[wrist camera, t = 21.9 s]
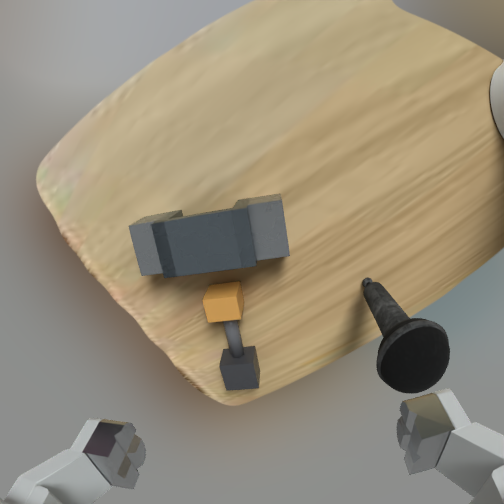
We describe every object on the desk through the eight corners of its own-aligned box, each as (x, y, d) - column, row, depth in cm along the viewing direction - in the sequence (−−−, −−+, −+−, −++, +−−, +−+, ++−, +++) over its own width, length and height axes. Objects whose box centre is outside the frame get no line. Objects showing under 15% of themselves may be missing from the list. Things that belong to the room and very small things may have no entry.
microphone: (398, 286, 39) (470, 378, 20) (356, 313, 41) (402, 421, 22) (376, 245, 38) (453, 325, 19) (331, 274, 39) (373, 377, 20)
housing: (280, 193, 37) (282, 202, 30) (287, 242, 39) (290, 261, 32) (144, 216, 39) (122, 229, 32) (155, 261, 40) (136, 281, 34)
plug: (241, 280, 40) (238, 296, 36) (260, 370, 45) (258, 390, 40) (207, 285, 41) (200, 300, 37) (229, 372, 45) (226, 392, 41)
